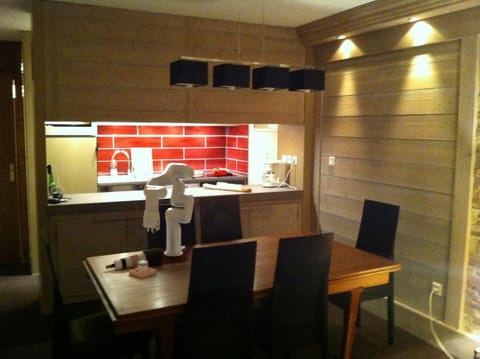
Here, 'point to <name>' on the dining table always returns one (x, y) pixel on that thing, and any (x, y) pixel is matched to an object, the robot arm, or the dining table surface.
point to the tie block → (142, 266)
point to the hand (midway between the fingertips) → (151, 238)
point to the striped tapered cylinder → (139, 259)
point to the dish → (135, 273)
